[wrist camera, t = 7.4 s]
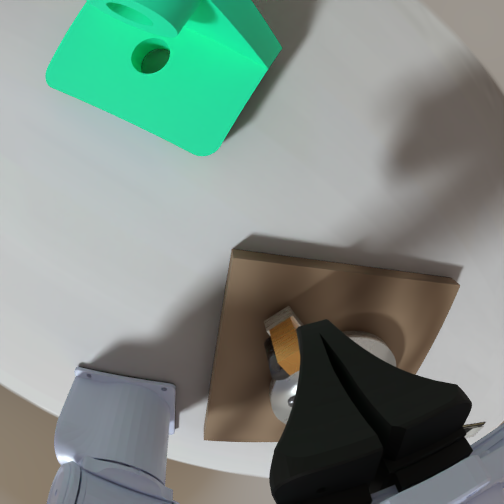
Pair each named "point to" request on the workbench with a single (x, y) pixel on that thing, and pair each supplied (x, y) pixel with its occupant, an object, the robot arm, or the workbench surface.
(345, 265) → the fixture board
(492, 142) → the workbench surface
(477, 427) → the computer memory module
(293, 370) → the flange plate
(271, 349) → the dowel pin
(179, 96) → the camera mount
